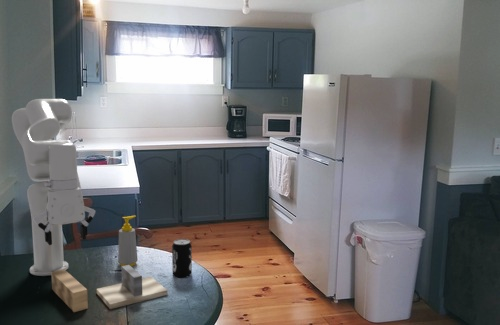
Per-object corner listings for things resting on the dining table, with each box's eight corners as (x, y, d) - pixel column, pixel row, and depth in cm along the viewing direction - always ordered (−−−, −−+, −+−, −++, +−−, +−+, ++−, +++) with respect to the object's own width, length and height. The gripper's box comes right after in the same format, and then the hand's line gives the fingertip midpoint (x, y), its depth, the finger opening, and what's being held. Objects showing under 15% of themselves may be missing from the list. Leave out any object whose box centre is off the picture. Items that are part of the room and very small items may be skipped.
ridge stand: (96, 293, 144) (95, 270, 143) (151, 280, 154) (150, 259, 153) (110, 309, 134) (109, 284, 133) (167, 294, 144) (167, 271, 143)
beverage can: (188, 279, 156) (187, 245, 154) (169, 277, 157) (169, 243, 155) (194, 272, 162) (194, 239, 161) (176, 270, 164) (176, 237, 162)
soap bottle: (140, 265, 169) (139, 217, 166) (122, 269, 164) (121, 220, 162) (133, 259, 174) (132, 213, 171) (115, 263, 170) (113, 216, 167)
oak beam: (52, 290, 147) (51, 272, 146) (65, 286, 149) (64, 269, 149) (74, 313, 132) (73, 293, 131) (87, 309, 134) (87, 289, 133)
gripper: (34, 190, 128) (38, 249, 130) (97, 183, 137) (99, 239, 140) (29, 185, 134) (32, 242, 136) (90, 180, 143) (92, 233, 146)
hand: (66, 241), depth 138 cm, fingers open, 9 cm apart
